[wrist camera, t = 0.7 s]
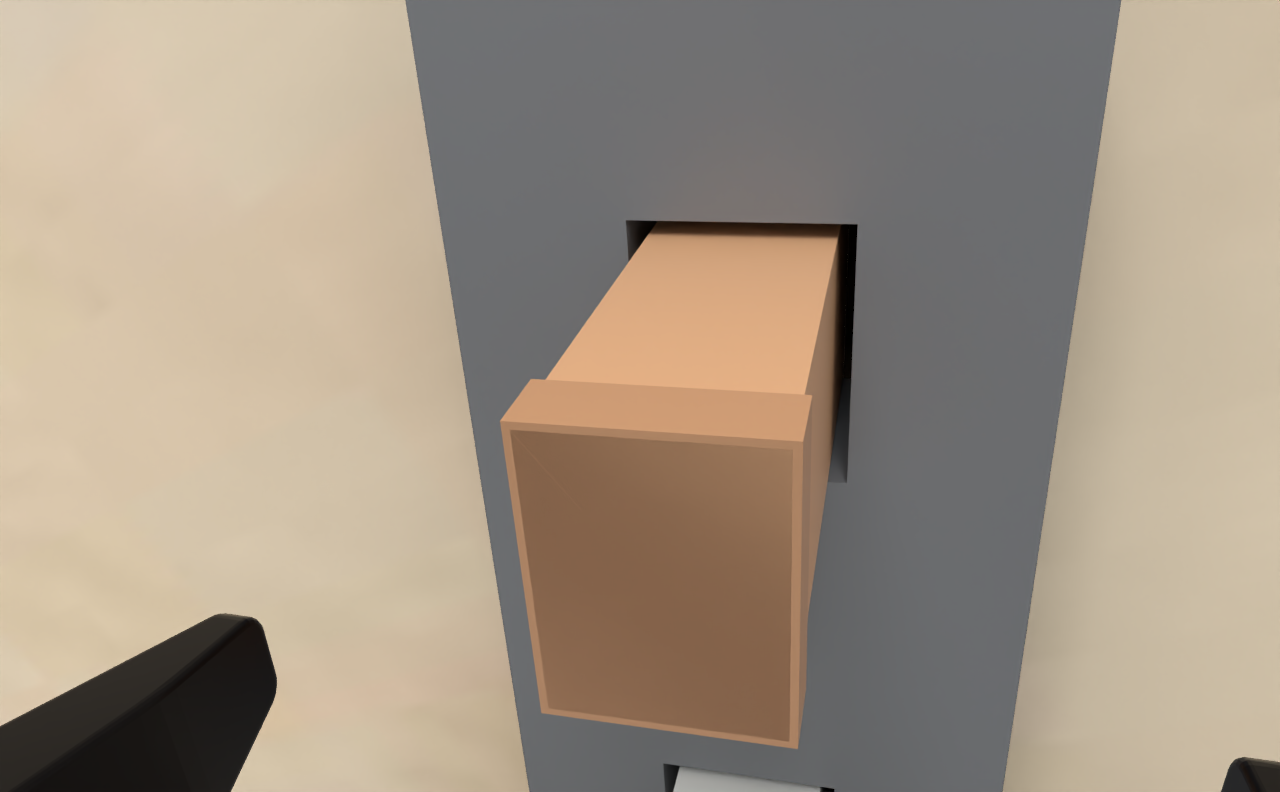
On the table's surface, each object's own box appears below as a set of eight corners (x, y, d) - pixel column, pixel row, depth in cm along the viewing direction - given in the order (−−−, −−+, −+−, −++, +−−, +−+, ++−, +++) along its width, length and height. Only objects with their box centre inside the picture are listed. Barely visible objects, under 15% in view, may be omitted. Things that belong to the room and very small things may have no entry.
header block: (956, 906, 27) (962, 1058, 24) (600, 845, 30) (558, 975, 26) (1084, -76, 16) (1129, -55, 13) (497, -47, 18) (401, -24, 15)
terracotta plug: (848, 374, 20) (798, 749, 12) (694, 365, 21) (541, 712, 13) (856, 168, 19) (802, 441, 10) (686, 168, 19) (499, 421, 11)
